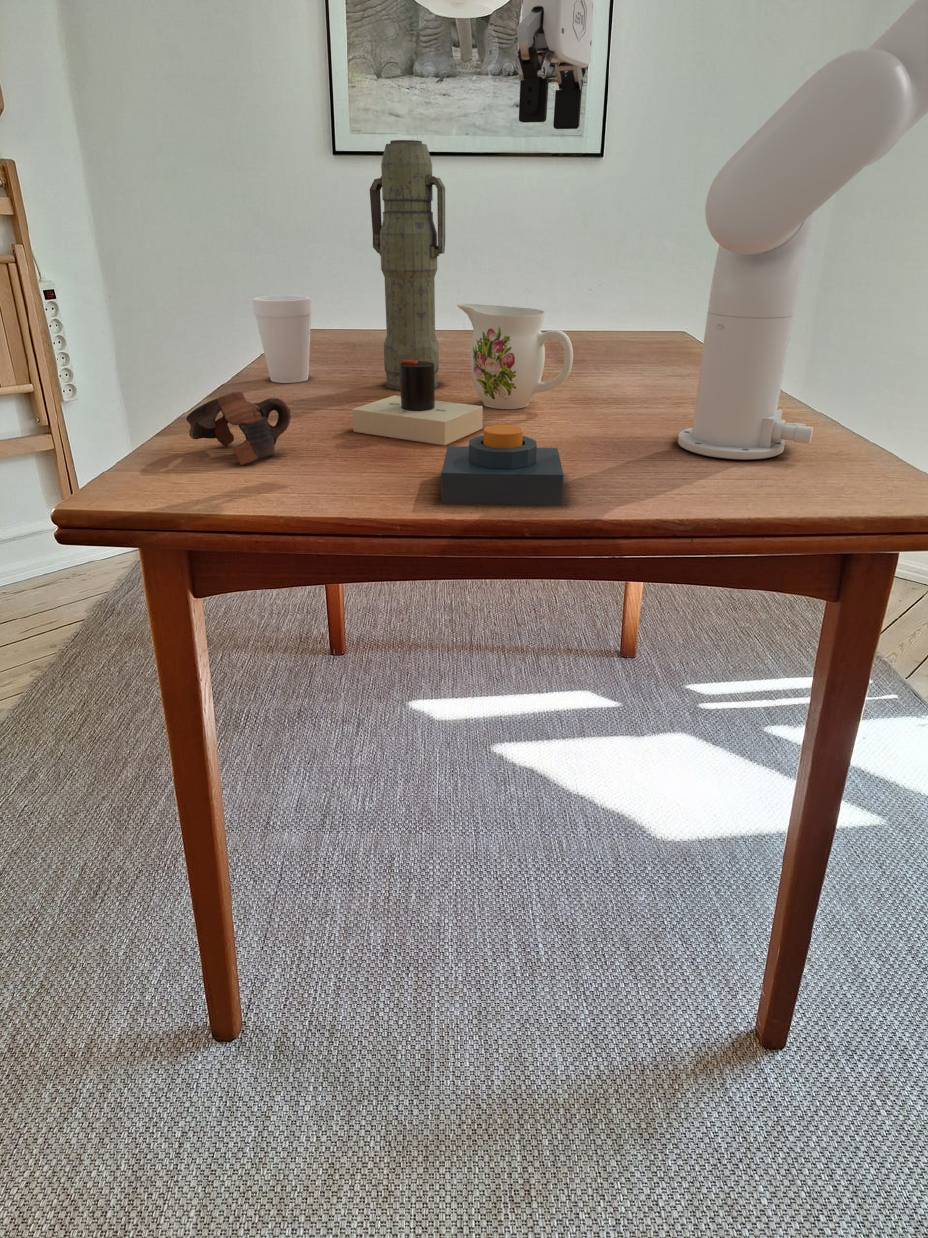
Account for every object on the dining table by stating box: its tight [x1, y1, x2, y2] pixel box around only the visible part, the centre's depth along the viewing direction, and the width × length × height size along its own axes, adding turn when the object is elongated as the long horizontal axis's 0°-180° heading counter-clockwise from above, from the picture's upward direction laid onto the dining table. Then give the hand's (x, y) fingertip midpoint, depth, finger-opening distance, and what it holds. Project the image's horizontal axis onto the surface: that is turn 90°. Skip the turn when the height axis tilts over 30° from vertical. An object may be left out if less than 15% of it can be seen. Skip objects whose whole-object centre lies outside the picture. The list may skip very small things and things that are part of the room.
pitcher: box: [456, 303, 574, 410], centre depth 118 cm, size 11×18×14 cm, turn 65°
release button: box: [482, 424, 524, 448], centre depth 83 cm, size 4×4×2 cm
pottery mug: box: [185, 391, 292, 466], centre depth 97 cm, size 12×10×8 cm
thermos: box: [369, 139, 446, 391], centre depth 127 cm, size 9×12×35 cm
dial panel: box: [351, 394, 484, 446], centre depth 107 cm, size 14×10×3 cm
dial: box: [400, 360, 436, 411], centre depth 105 cm, size 4×4×6 cm
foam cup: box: [251, 294, 313, 384], centre depth 136 cm, size 10×9×13 cm
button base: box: [440, 435, 564, 506], centre depth 84 cm, size 12×10×5 cm
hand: (549, 125), depth 95 cm, fingers open, 9 cm apart
